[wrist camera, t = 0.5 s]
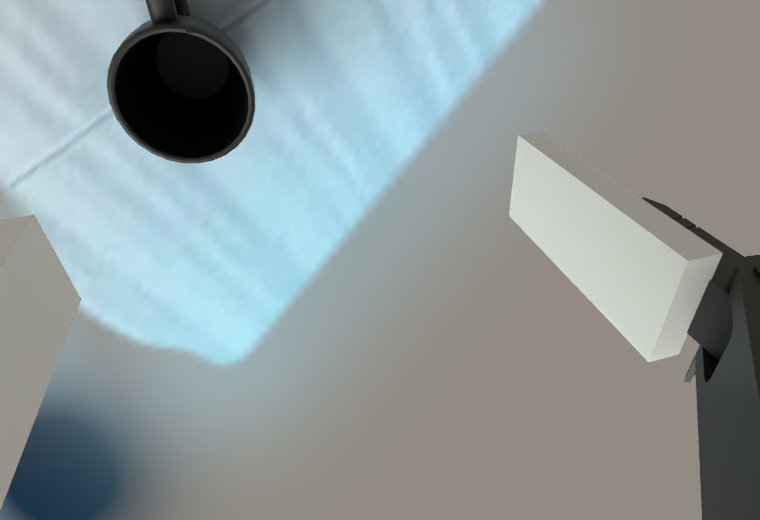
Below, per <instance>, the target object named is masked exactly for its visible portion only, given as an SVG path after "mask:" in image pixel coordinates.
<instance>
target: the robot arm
mask: <svg viewBox="0 0 760 520" xmlns="http://www.w3.org/2000/svg"><path fill="white" fill-rule="evenodd" d="M509 216H510V217H511V218H512V219H513V220H514V221H515V222H516V223H517V224H518V225H519V226H520V228H522V230H523V231H524V232H525V233H526V234H527V235H528V236H529V237H530V238H531V239H532V240H533V241H534V242H535V243H536V244H537V245H538V246H539V247H540V248H541V250H542V251H543V252H544V253H545V254H546V255H547V256H548V257H549V258H550V259H551V260H552V261H553V262H554V263H555V264H556V265H557V266H558V267H559V268H560V270H562V271H563V273H564V274H565V275H566V276H567V277H568V278H569V279H570V280H571V281H572V282H573V283H574V284H575V285H576V286H577V287H578V288H579V289H580V290H581V292H583V294H585V296H586V297H587V298H588V299H589V300H590V301H591V302H592V303H593V304H594V305H595V306H596V307H597V308H598V309H599V310H600V311H601V313H602V314H603V315H604V316H605V317H606V318H607V319H608V320H609V321H610V322H611V323H612V324H613V325H614V326H615V327H616V328H617V329H618V330H619V331H620V333H621V334H622V335H623V336H624V337H625V338H626V339H627V340H628V341H629V342H630V343H631V344H632V345H633V346H634V347H635V348H636V349H637V350H638V351H639V352H640V354H641V355H642V356H643V357H644V358H645V359H646V360H647V361H648V362H651V361H655V360H658V359H663V358H666V357H670V356H674V355H678V354H679V353H680V350H681V348H682V346H683V343H684V341H685V339H686V337H687V334H689V335H690V336H691V337H692V338H693V339H694V340H696V341H697V342H698V343H699V344H700V346H699V348H698V350H697V352H696V355H695V357H694V359H693V361H692V363H691V365H690V368H689V370H688V372H687V374H686V377H685V380H684V381H685V382H689V383H690V381H691V379H692V377H693V376H694V375H696V390H697V412H698V435H699V458H700V479H701V502H702V520H760V255H754V256H747V257H744V256H742V255H740V254H739V253H737V252H736V251H735V250H733V249H731V248H730V247H728V246H727V245H725V244H724V243H722V242H721V241H719V240H718V239H716V238H714V237H713V236H712V235H710V234H708V233H707V232H706V231H704V230H702V229H701V228H699V227H698V228H696V226H695V224H693V223H691V222H690V221H689V220H687V219H686V218H685V219H682V216H681V215H679V214H678V213H676V212H675V211H673V210H672V209H670V208H669V207H667V206H665V205H663V204H660V203H658V202H655V201H652V200H650V199H647V198H644V197H643V198H640V197H639V196H637V195H636V194H634V193H633V192H631V191H630V190H628V189H627V188H625V187H624V186H622V185H621V184H619V183H618V182H617V181H615V180H613V179H612V178H611V177H609V176H607V175H606V174H605V173H603V172H602V171H600V170H599V169H597V168H596V167H594V166H593V165H591V164H590V163H588V162H587V161H585V160H584V159H582V158H581V157H579V156H578V155H576V154H575V153H573V152H572V151H570V150H569V149H567V148H566V147H565V146H563V145H561V144H560V143H559V142H557V141H556V140H554V139H553V138H551V137H550V136H548V135H547V134H545V133H544V132H542V131H540V132H534V133H528V134H522V135H518V143H517V151H516V160H515V169H514V177H513V186H512V195H511V205H510V214H509ZM80 300H81V298H80V296H79V294H78V293H77V291H76V289H75V287H74V285H73V284H72V282H71V280H70V278H69V276H68V275H67V273H66V271H65V269H64V267H63V266H62V264H61V262H60V260H59V258H58V257H57V255H56V253H55V251H54V249H53V248H52V246H51V244H50V242H49V240H48V239H47V237H46V235H45V233H44V231H43V230H42V228H41V226H40V224H39V222H38V221H37V219H36V217H35V215H30V216H24V217H18V218H12V219H6V220H0V509H1V507H2V504H3V502H4V499H5V496H6V494H7V491H8V488H9V486H10V483H11V480H12V478H13V475H14V473H15V470H16V468H17V465H18V462H19V460H20V457H21V455H22V452H23V449H24V446H25V444H26V441H27V439H28V436H29V433H30V431H31V428H32V426H33V423H34V420H35V418H36V415H37V413H38V410H39V407H40V405H41V402H42V400H43V397H44V394H45V392H46V389H47V387H48V384H49V381H50V379H51V376H52V374H53V371H54V368H55V366H56V363H57V361H58V358H59V355H60V353H61V350H62V347H63V345H64V342H65V340H66V337H67V334H68V332H69V329H70V327H71V324H72V321H73V319H74V316H75V314H76V311H77V308H78V306H79V303H80Z"/></svg>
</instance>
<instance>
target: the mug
mask: <svg viewBox="0 0 760 520" xmlns="http://www.w3.org/2000/svg"><path fill="white" fill-rule="evenodd" d="M146 3H147V7H148V11H149V14H150V17H151V21H148V22H146V23H144V24H142V25H141V26H140V27H138V28H137V29H136V30H135V31H133V32H132V33H131V34H130V35H129V36H128V37H127V38H126V39H125V40H124V41H123V43H122V44H121V45H120V47H119V48H118V50H117V51H116V52H115V54H114V55H113V58H112V61H111V64H110V66H109V69H108V79H107V90H108V95H109V101H110V104H111V107H112V109H113V112H114V114H115V116H116V119H117V120H118V121H119V123H120V124H121V126H122V127H123V129H124V130H125V131H126V133H127V134H128V135H129V136H130V137H131V138H132V139H133V140H134V141H135V142H137V143H138V144H139V145H140V146H142V147H143V148H145V149H146V150H148V151H149V152H151V153H152V154H155V155H157V156H160V157H162V158H164V159H167V160H171V161H175V162H180V163H202V162H207V161H212V160H215V159H217V158H220V157H222V156H224V155H226V154H228V153H229V152H230V151H232V150H233V149H234V148H236V147H237V146H238V145H239V144H240V142H241V141H242V140H243V139H244V138H245V137H246V135H247V133H248V131H249V129H250V127H251V125H252V121H253V117H254V112H255V93H254V86H253V82H252V78H251V74H250V69H249V67H248V65H247V62H246V60H245V58H244V56H243V54H242V53H241V51H240V50H239V49H238V48H237V46H236V45H235V44H234V42H233V41H232V40H231V39H230V38H229V37H228V36H227V35H226V34H225V33H223V32H222V31H221V30H220V29H219V28H217V27H215V26H213V25H212V24H210V23H208V22H206V21H204V20H201V19H198V18H195V17H192V16H190V13H189V8H188V4H187V0H146Z"/></svg>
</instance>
